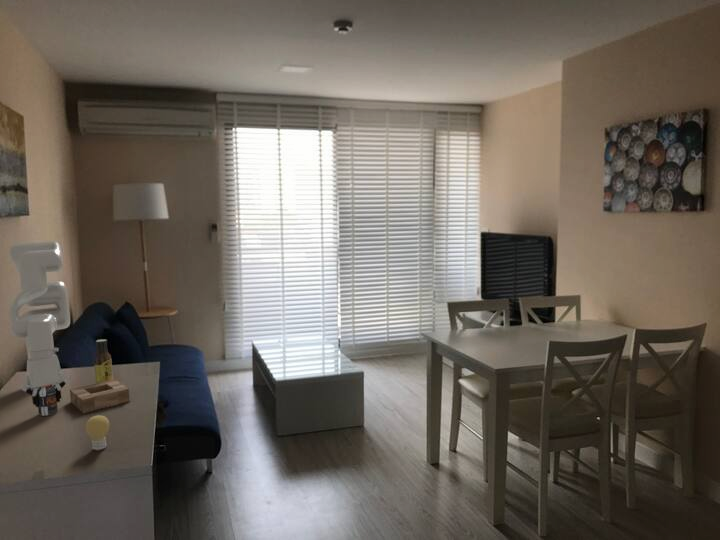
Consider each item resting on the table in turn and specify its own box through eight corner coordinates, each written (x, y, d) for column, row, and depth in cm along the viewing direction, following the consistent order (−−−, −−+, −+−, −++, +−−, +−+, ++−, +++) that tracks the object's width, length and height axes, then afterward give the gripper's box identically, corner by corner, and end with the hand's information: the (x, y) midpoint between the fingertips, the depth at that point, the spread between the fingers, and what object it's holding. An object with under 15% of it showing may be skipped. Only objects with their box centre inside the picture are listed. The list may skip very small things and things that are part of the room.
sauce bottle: (108, 392, 222) (104, 342, 219) (93, 392, 222) (88, 342, 220) (117, 386, 228) (112, 338, 226) (101, 387, 228) (97, 338, 226)
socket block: (71, 402, 211) (69, 389, 211) (115, 391, 222) (114, 379, 221) (83, 413, 199) (81, 399, 199) (129, 401, 210) (128, 388, 209)
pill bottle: (49, 416, 197) (46, 385, 196) (34, 415, 198) (31, 384, 197) (61, 410, 203) (58, 379, 202) (47, 409, 204) (44, 379, 203)
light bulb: (92, 444, 172) (89, 413, 171) (114, 443, 172) (111, 411, 171) (84, 454, 165) (80, 421, 164) (107, 452, 166) (103, 419, 165)
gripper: (66, 347, 206) (71, 394, 209) (11, 356, 195) (17, 407, 198) (71, 350, 201) (76, 399, 203) (15, 361, 190) (21, 413, 192)
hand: (47, 403), depth 200 cm, fingers closed on pill bottle, 6 cm apart
